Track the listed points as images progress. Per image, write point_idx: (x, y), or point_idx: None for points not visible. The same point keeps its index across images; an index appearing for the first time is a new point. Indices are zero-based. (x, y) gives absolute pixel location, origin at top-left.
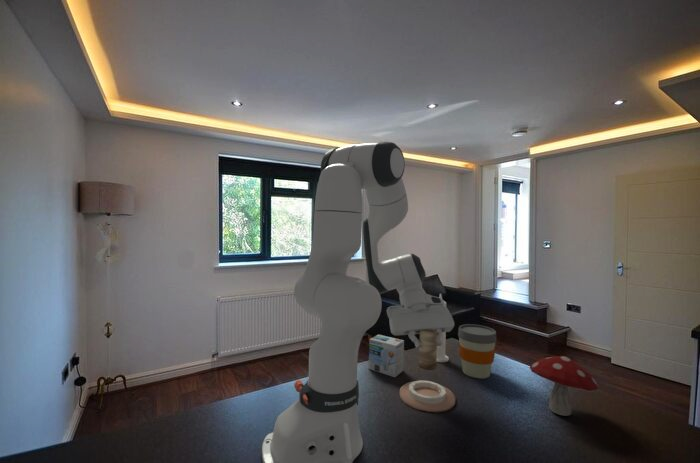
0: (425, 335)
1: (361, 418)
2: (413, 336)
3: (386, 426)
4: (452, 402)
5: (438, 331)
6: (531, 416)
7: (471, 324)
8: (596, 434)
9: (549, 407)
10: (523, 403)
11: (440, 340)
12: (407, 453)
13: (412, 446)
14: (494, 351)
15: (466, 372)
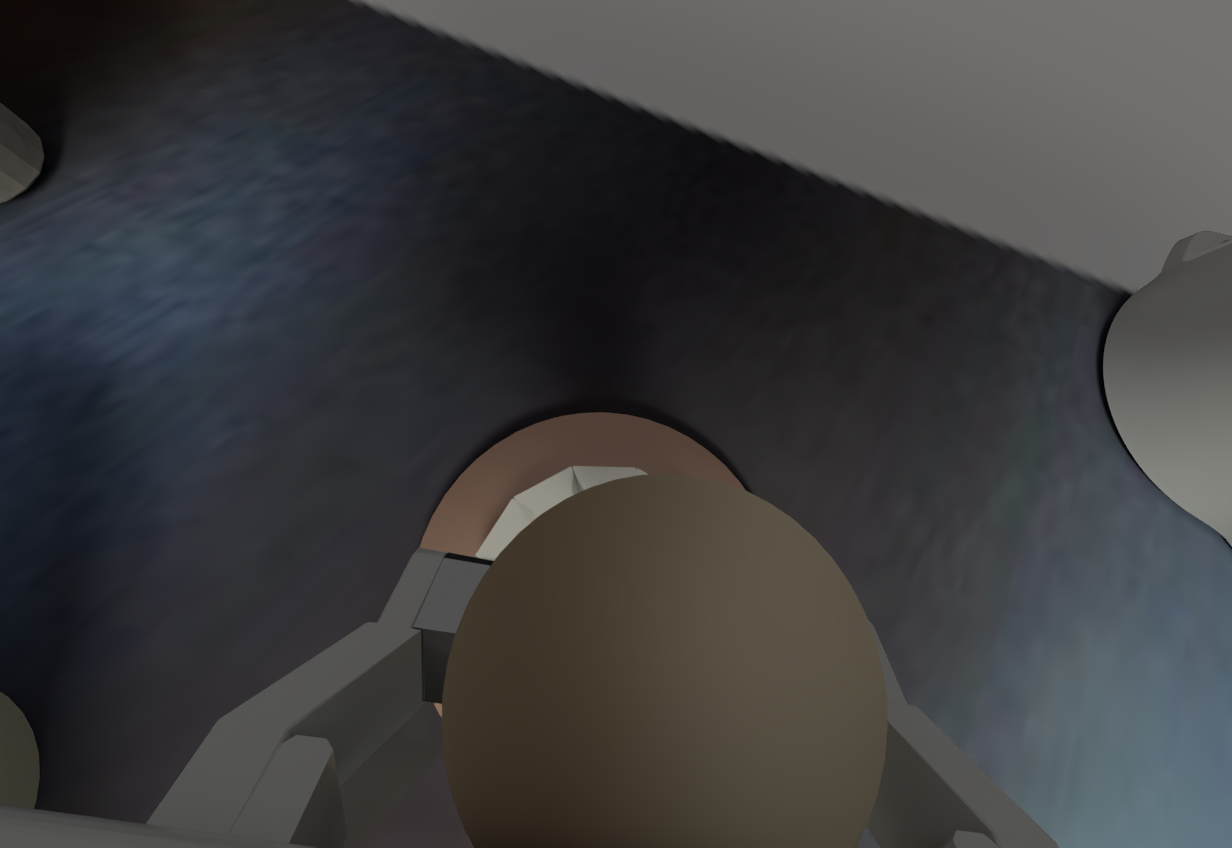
0: (831, 561)
1: (1063, 523)
2: (984, 777)
3: (959, 417)
4: (511, 445)
5: (290, 759)
6: (188, 211)
7: None
8: (61, 20)
9: (11, 197)
10: (85, 309)
11: (412, 584)
12: (938, 238)
13: (901, 262)
14: None
15: (21, 797)
